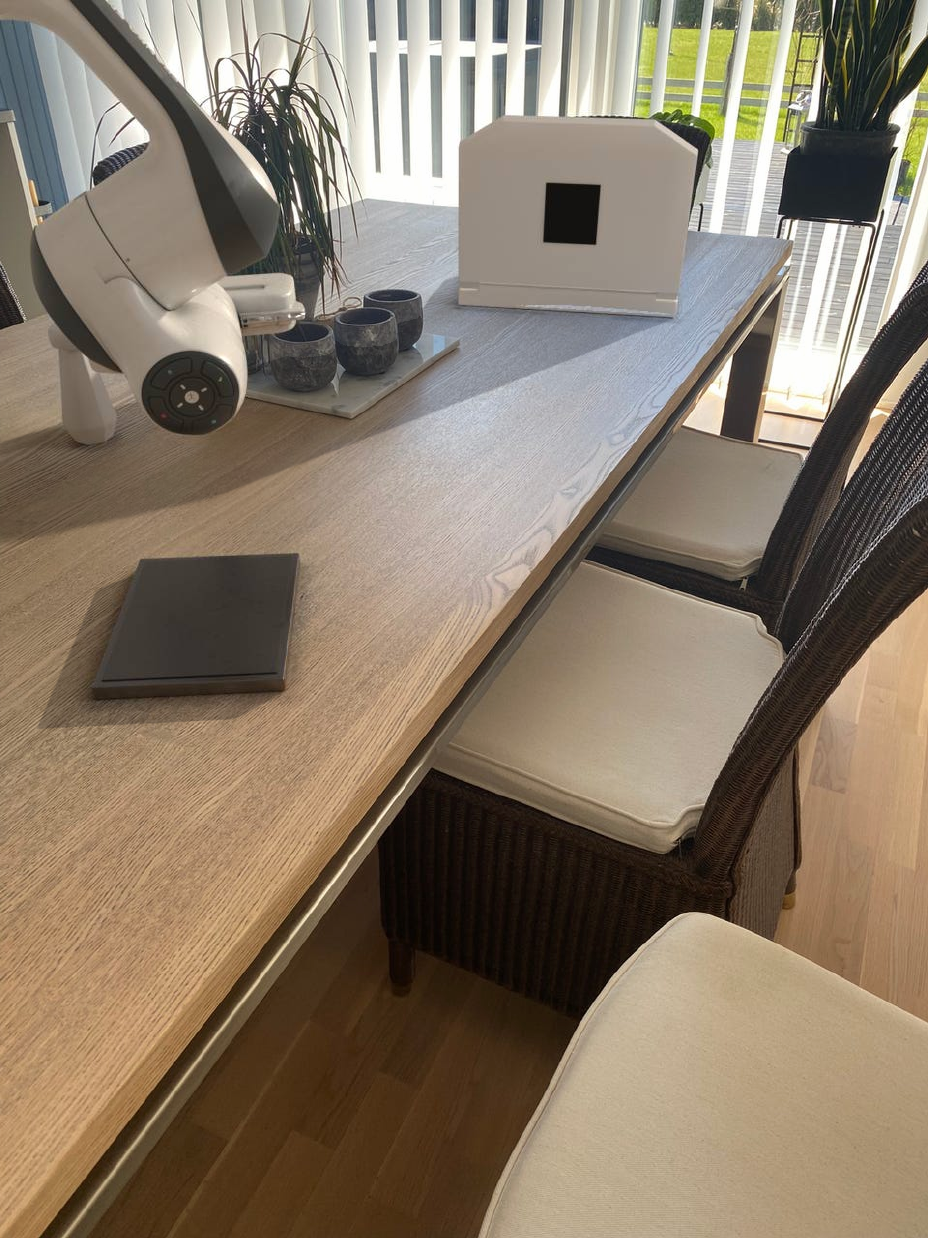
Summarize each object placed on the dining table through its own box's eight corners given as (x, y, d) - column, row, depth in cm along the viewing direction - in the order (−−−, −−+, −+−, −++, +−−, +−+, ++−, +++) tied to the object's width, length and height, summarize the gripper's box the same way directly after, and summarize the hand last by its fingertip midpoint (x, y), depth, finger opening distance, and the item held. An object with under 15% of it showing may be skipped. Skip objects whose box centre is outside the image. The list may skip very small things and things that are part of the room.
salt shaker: (63, 449, 105) (33, 333, 97) (70, 428, 109) (41, 316, 102) (118, 445, 106) (92, 329, 98) (123, 424, 110) (98, 312, 103)
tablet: (94, 700, 70) (90, 686, 69) (142, 569, 85) (139, 557, 84) (285, 691, 71) (283, 677, 70) (300, 563, 86) (299, 551, 85)
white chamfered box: (675, 274, 162) (697, 99, 147) (675, 318, 143) (702, 122, 127) (482, 264, 167) (485, 93, 152) (458, 305, 147) (458, 114, 132)
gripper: (305, 282, 82) (288, 243, 93) (54, 299, 78) (68, 256, 89) (311, 353, 85) (294, 307, 96) (73, 373, 81) (83, 323, 92)
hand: (184, 283), depth 92 cm, fingers closed on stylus, 3 cm apart
